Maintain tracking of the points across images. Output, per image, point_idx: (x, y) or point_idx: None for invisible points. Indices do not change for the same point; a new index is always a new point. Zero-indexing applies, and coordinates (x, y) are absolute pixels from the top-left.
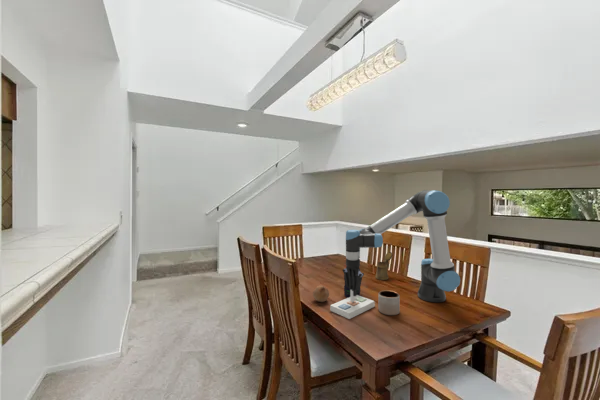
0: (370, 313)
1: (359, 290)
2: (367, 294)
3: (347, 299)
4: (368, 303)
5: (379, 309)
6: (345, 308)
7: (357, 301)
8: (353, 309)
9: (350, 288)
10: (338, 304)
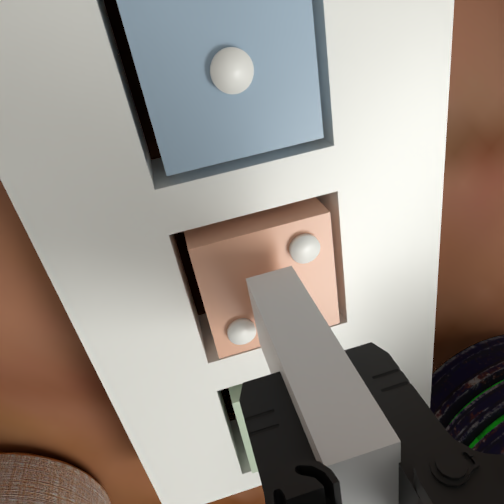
0: (22, 353)
1: None
2: None
3: (404, 283)
4: (147, 444)
5: (2, 473)
6: (124, 8)
7: None
8: (48, 154)
9: (423, 476)
10: (374, 33)
